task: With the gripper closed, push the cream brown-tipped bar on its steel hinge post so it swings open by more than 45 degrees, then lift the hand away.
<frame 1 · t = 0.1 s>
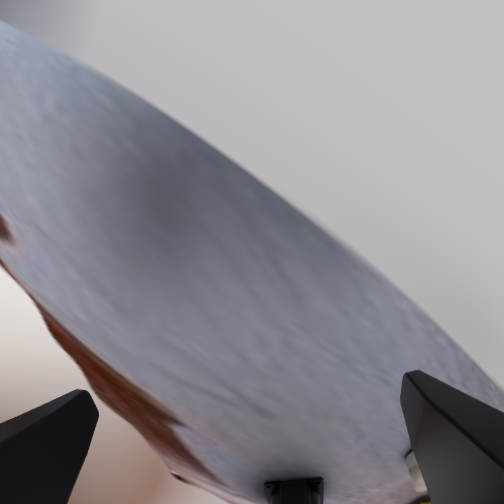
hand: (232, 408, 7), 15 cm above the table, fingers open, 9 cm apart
cream brown-tipped bar: (430, 447, 22), point 3 cm above the table, hinge at 0.0°
lemon: (420, 501, 28), on the table
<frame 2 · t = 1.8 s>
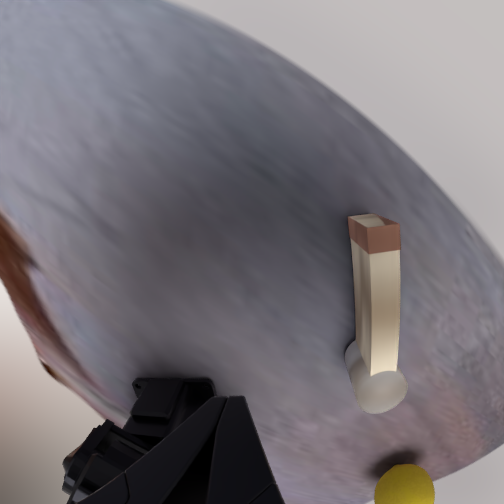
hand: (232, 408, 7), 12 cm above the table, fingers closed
cream brown-tipped bar: (375, 316, 16), point 3 cm above the table, hinge at 0.0°
lemon: (394, 464, 22), on the table
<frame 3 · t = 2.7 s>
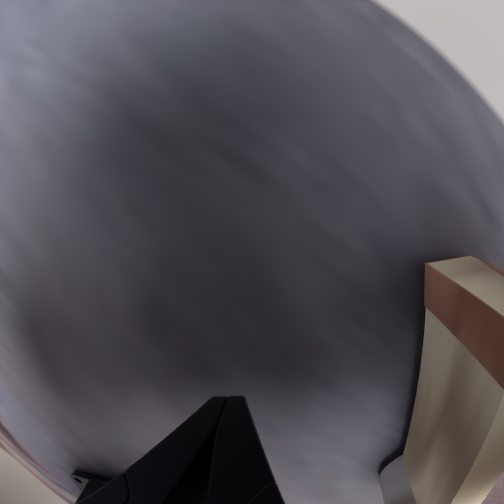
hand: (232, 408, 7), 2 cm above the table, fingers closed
cream brown-tipped bar: (451, 448, 6), point 3 cm above the table, hinge at 0.0°
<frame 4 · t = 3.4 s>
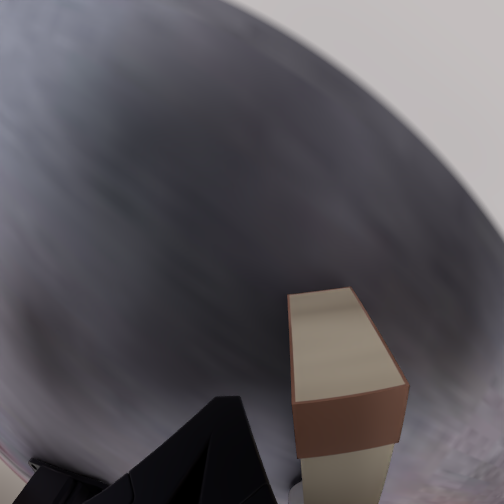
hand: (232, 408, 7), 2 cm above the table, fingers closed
cream brown-tipped bar: (331, 486, 7), point 3 cm above the table, hinge at 0.1°, touching gripper
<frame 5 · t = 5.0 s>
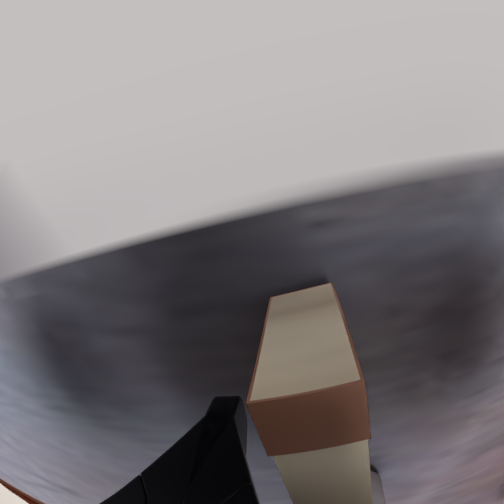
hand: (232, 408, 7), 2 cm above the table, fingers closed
cream brown-tipped bar: (339, 482, 7), point 3 cm above the table, hinge at 43.3°, touching gripper
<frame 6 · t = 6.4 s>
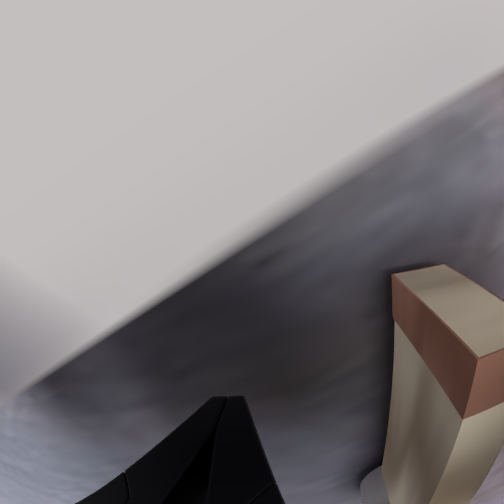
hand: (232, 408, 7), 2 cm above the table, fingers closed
cream brown-tipped bar: (426, 463, 6), point 3 cm above the table, hinge at 69.6°
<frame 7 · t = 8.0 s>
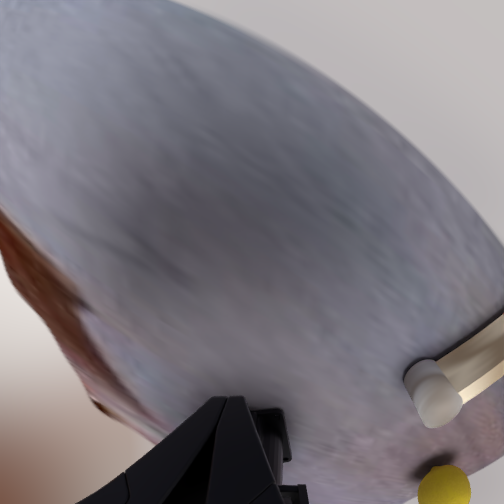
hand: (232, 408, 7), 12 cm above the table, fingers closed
cream brown-tipped bar: (476, 363, 16), point 3 cm above the table, hinge at 69.7°
lemon: (433, 466, 23), on the table
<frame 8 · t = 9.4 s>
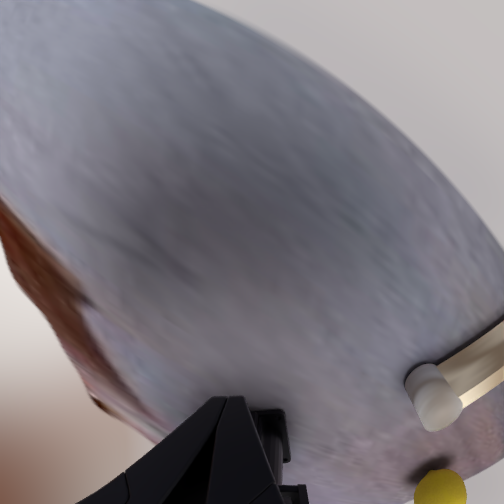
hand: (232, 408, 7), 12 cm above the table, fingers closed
cream brown-tipped bar: (476, 369, 17), point 3 cm above the table, hinge at 69.7°
lemon: (429, 469, 23), on the table
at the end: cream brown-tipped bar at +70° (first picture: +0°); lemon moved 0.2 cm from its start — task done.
